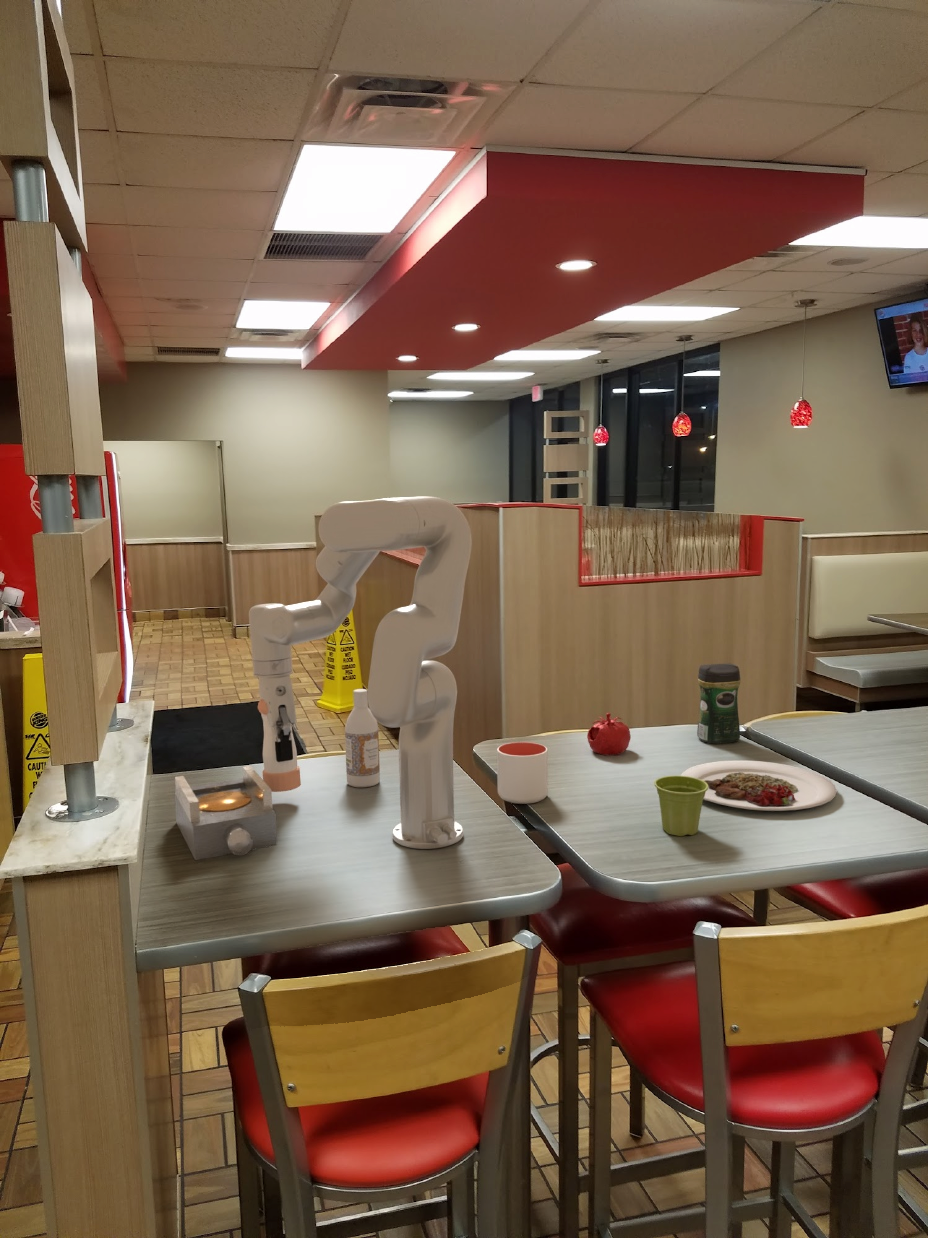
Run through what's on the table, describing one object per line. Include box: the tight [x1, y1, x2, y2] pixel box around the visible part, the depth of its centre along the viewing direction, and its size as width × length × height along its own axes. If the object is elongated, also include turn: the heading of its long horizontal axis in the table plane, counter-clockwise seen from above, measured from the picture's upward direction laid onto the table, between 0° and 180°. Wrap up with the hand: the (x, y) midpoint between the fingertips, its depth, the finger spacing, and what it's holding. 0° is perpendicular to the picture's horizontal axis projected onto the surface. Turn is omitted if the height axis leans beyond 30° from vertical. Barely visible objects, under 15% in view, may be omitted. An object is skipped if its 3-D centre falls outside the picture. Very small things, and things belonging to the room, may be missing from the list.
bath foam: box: [344, 688, 381, 788], centre depth 194 cm, size 7×7×20 cm
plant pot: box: [653, 775, 708, 837], centre depth 165 cm, size 9×9×9 cm
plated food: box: [679, 760, 837, 812], centre depth 186 cm, size 30×30×3 cm
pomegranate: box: [586, 712, 632, 756], centre depth 215 cm, size 10×10×9 cm
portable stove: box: [174, 765, 278, 861], centre depth 166 cm, size 24×14×10 cm, turn 26°
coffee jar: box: [696, 662, 741, 744], centre depth 221 cm, size 10×8×19 cm
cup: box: [496, 741, 549, 805], centre depth 184 cm, size 10×10×10 cm
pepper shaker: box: [257, 699, 302, 793], centre depth 183 cm, size 7×7×19 cm
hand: (279, 755), depth 183 cm, fingers closed on pepper shaker, 6 cm apart
